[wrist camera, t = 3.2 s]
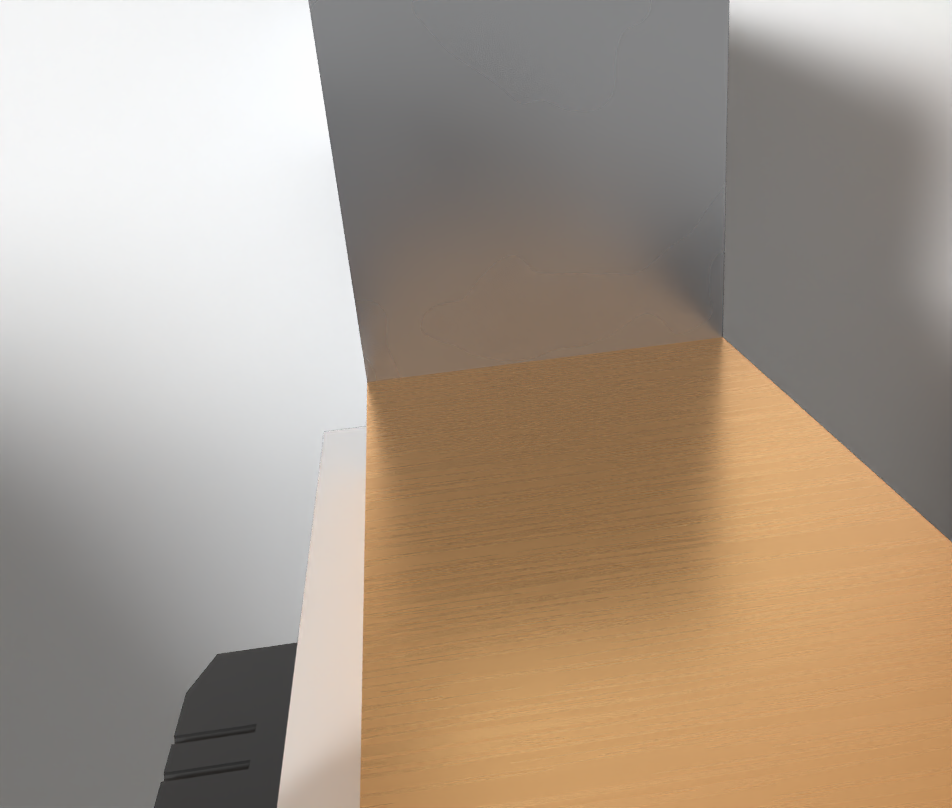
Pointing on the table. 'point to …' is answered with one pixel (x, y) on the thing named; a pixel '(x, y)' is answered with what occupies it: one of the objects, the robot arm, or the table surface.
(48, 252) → the table surface
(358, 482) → the robot arm
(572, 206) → the clip
